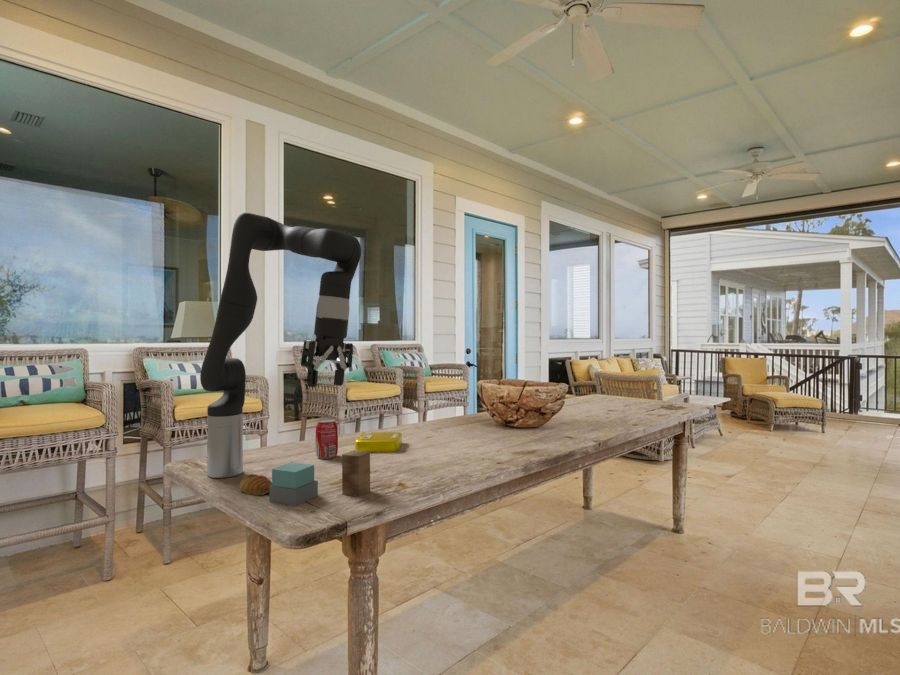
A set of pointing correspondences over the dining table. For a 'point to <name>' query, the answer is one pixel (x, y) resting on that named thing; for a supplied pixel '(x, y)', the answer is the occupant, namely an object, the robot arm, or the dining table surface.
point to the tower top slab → (293, 475)
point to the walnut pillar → (355, 473)
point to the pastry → (255, 485)
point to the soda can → (326, 438)
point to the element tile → (379, 442)
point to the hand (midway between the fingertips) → (325, 385)
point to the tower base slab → (293, 494)
